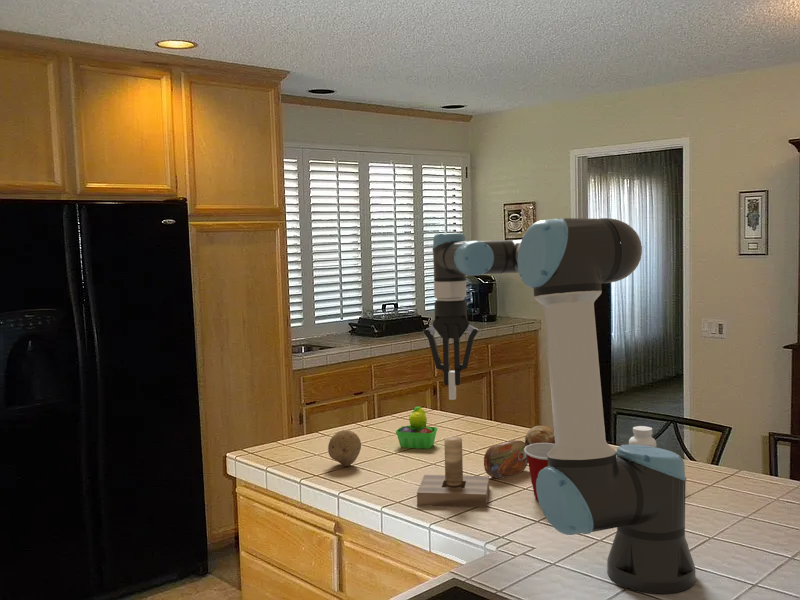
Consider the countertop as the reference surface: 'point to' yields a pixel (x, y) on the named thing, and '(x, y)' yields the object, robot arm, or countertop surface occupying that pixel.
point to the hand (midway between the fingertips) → (452, 398)
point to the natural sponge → (344, 447)
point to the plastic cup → (537, 460)
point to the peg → (453, 462)
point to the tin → (505, 459)
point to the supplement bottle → (642, 436)
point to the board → (453, 492)
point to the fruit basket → (417, 431)
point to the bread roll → (540, 435)
